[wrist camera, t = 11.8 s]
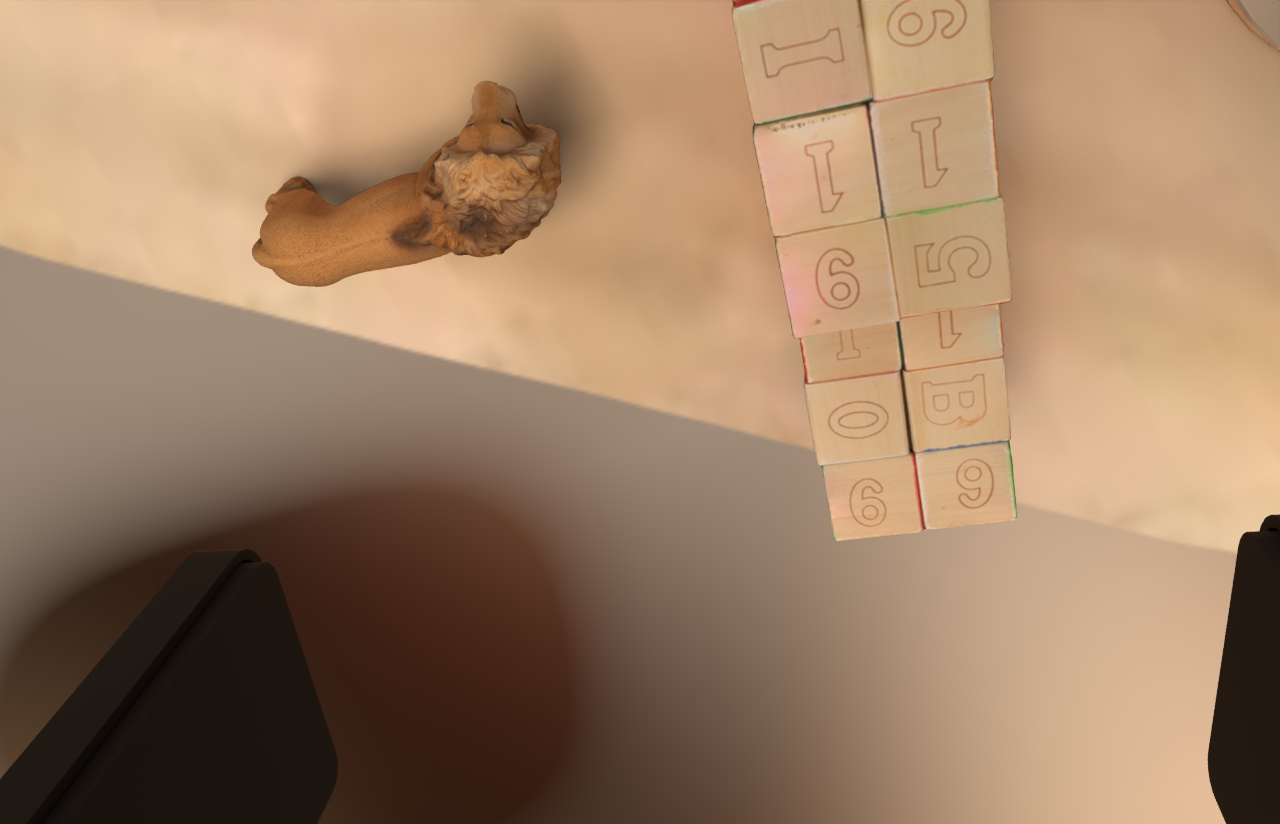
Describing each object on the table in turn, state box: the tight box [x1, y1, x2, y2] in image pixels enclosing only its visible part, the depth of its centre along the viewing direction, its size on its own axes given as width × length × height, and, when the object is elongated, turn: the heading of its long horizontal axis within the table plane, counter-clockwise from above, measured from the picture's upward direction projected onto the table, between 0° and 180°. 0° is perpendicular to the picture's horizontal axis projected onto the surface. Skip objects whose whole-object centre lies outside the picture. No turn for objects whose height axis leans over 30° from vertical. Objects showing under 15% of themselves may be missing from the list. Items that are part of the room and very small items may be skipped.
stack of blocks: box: [732, 0, 1017, 541], centre depth 35 cm, size 21×6×12 cm, turn 12°
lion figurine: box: [252, 81, 561, 287], centre depth 39 cm, size 15×5×9 cm, turn 118°
